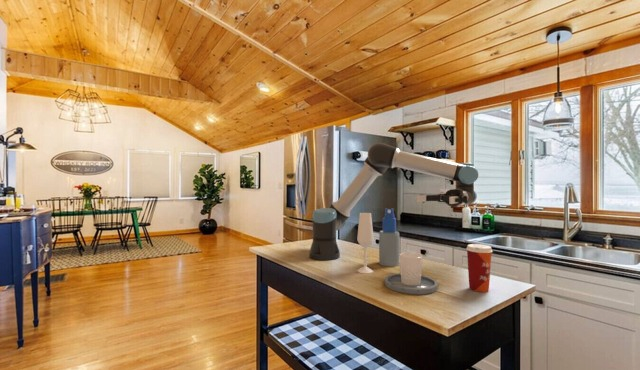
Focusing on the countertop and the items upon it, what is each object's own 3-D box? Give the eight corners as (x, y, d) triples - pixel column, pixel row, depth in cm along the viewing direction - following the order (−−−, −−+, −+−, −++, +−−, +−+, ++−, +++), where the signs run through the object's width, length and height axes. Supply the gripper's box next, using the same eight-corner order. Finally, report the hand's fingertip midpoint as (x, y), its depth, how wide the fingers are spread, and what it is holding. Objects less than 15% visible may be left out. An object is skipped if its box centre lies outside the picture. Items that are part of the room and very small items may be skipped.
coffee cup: (490, 295, 104) (490, 249, 104) (463, 290, 109) (463, 246, 109) (494, 288, 111) (494, 245, 110) (468, 283, 116) (469, 242, 115)
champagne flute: (361, 267, 136) (362, 212, 136) (376, 270, 132) (376, 213, 132) (354, 271, 131) (354, 213, 130) (368, 274, 127) (369, 214, 127)
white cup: (423, 287, 109) (423, 258, 109) (399, 285, 110) (400, 257, 110) (421, 280, 116) (421, 253, 116) (399, 278, 118) (399, 252, 118)
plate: (377, 279, 120) (377, 275, 120) (419, 276, 124) (419, 271, 124) (400, 296, 102) (400, 291, 102) (448, 292, 107) (448, 286, 107)
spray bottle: (398, 267, 137) (398, 209, 137) (377, 265, 140) (377, 209, 140) (400, 262, 146) (400, 207, 145) (380, 260, 149) (380, 207, 148)
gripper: (485, 207, 132) (465, 211, 117) (429, 204, 149) (405, 207, 135) (486, 189, 131) (465, 190, 117) (429, 188, 149) (405, 189, 135)
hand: (433, 199), depth 126 cm, fingers open, 13 cm apart
